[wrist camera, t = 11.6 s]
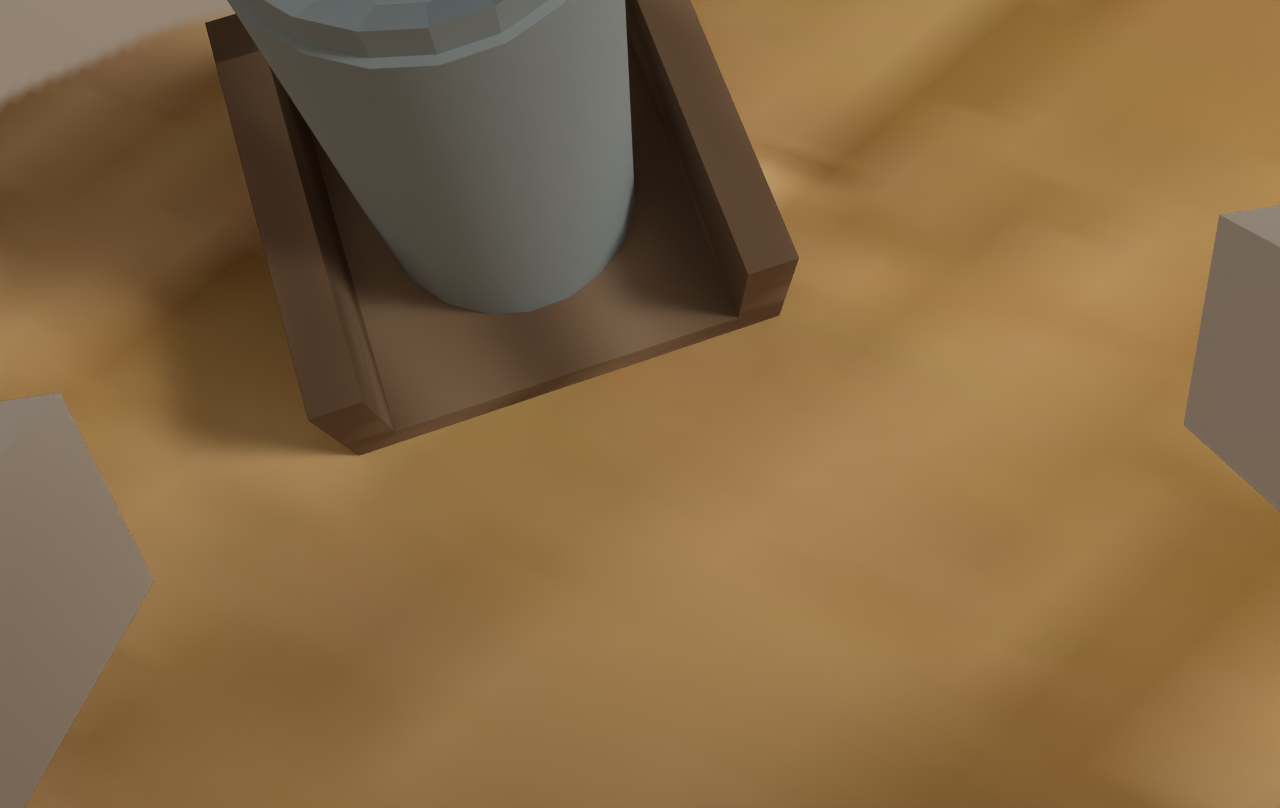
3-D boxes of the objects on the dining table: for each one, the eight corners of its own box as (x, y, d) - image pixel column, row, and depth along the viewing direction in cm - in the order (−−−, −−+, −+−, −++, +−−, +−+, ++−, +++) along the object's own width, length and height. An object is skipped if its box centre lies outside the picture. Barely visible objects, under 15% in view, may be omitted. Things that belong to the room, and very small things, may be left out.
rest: (646, -11, 37) (644, -108, 32) (779, 315, 33) (798, 258, 28) (264, 106, 36) (205, 22, 31) (358, 455, 32) (308, 419, 27)
